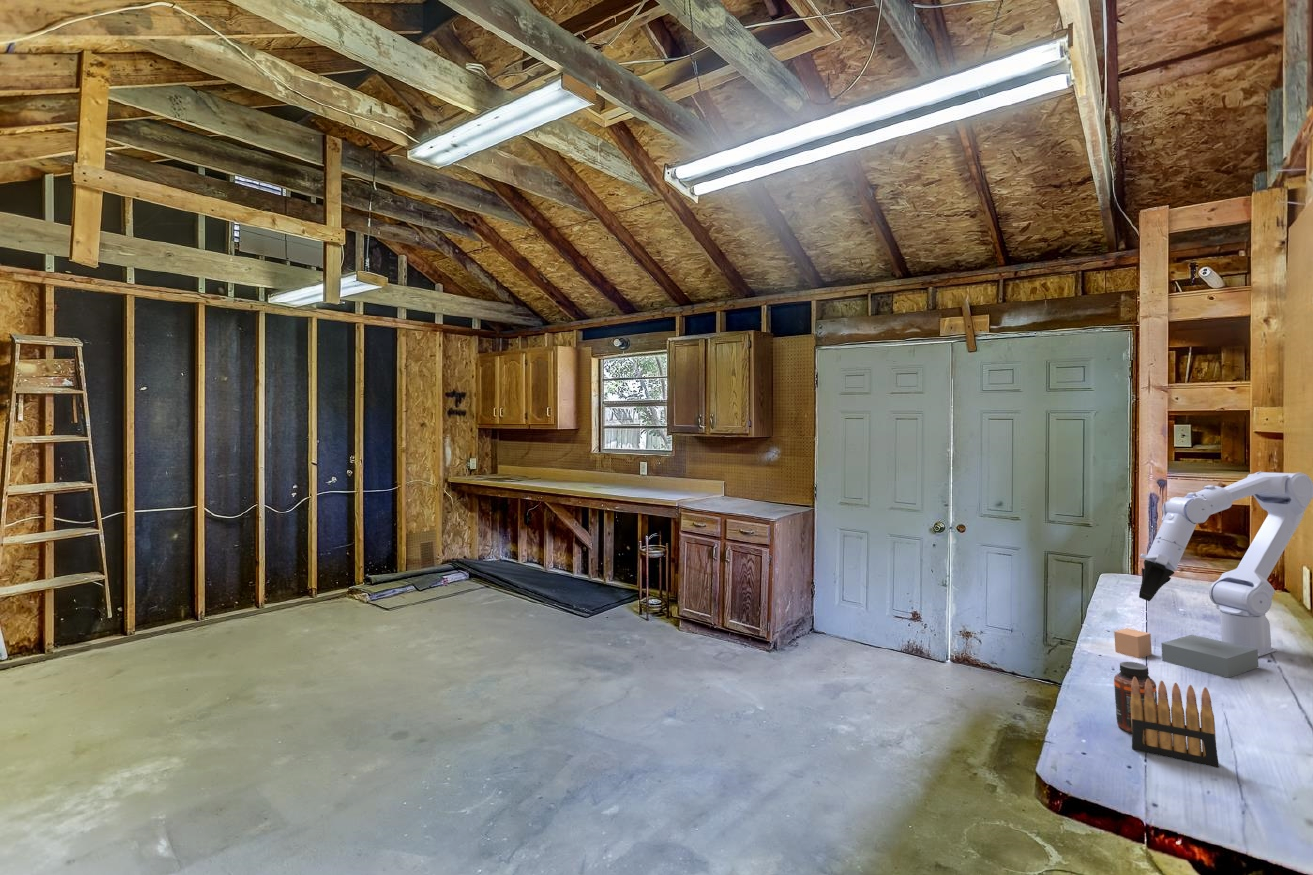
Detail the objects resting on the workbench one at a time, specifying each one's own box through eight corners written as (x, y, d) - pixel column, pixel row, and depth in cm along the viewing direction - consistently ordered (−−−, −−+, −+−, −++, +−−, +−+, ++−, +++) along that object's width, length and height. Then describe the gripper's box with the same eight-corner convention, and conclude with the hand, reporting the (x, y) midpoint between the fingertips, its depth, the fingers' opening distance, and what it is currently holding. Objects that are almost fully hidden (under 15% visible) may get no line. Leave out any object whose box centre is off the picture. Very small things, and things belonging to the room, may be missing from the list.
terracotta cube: (1128, 648, 148) (1127, 628, 148) (1151, 654, 144) (1150, 633, 144) (1115, 652, 146) (1114, 631, 147) (1138, 658, 142) (1137, 637, 142)
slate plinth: (1192, 651, 144) (1191, 634, 144) (1258, 667, 133) (1257, 649, 133) (1162, 660, 140) (1161, 643, 140) (1228, 677, 129) (1226, 658, 129)
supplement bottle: (1167, 738, 105) (1163, 671, 105) (1128, 736, 106) (1124, 670, 106) (1147, 722, 111) (1143, 659, 111) (1110, 721, 112) (1106, 658, 112)
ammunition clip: (1132, 749, 102) (1127, 677, 102) (1132, 745, 103) (1127, 673, 103) (1219, 768, 95) (1214, 690, 95) (1217, 763, 96) (1212, 686, 97)
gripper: (1146, 543, 151) (1123, 593, 150) (1150, 530, 140) (1125, 583, 139) (1182, 556, 146) (1158, 607, 145) (1189, 543, 135) (1164, 599, 134)
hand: (1145, 596), depth 142 cm, fingers open, 7 cm apart
